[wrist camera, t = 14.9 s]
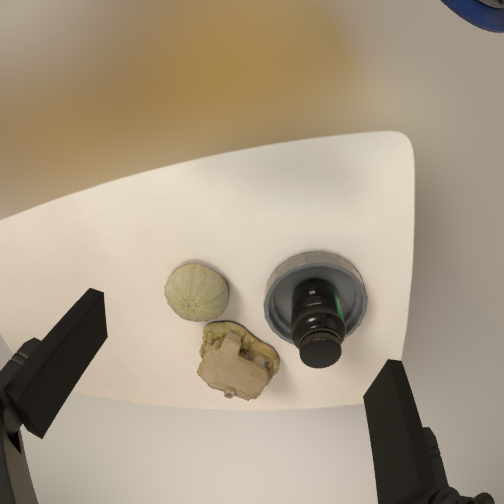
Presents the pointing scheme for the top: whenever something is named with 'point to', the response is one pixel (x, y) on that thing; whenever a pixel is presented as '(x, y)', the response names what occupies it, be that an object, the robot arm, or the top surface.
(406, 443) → the robot arm
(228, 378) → the ceramic model
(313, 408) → the top surface
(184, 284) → the sea urchin shell
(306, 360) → the supplement bottle
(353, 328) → the dish
